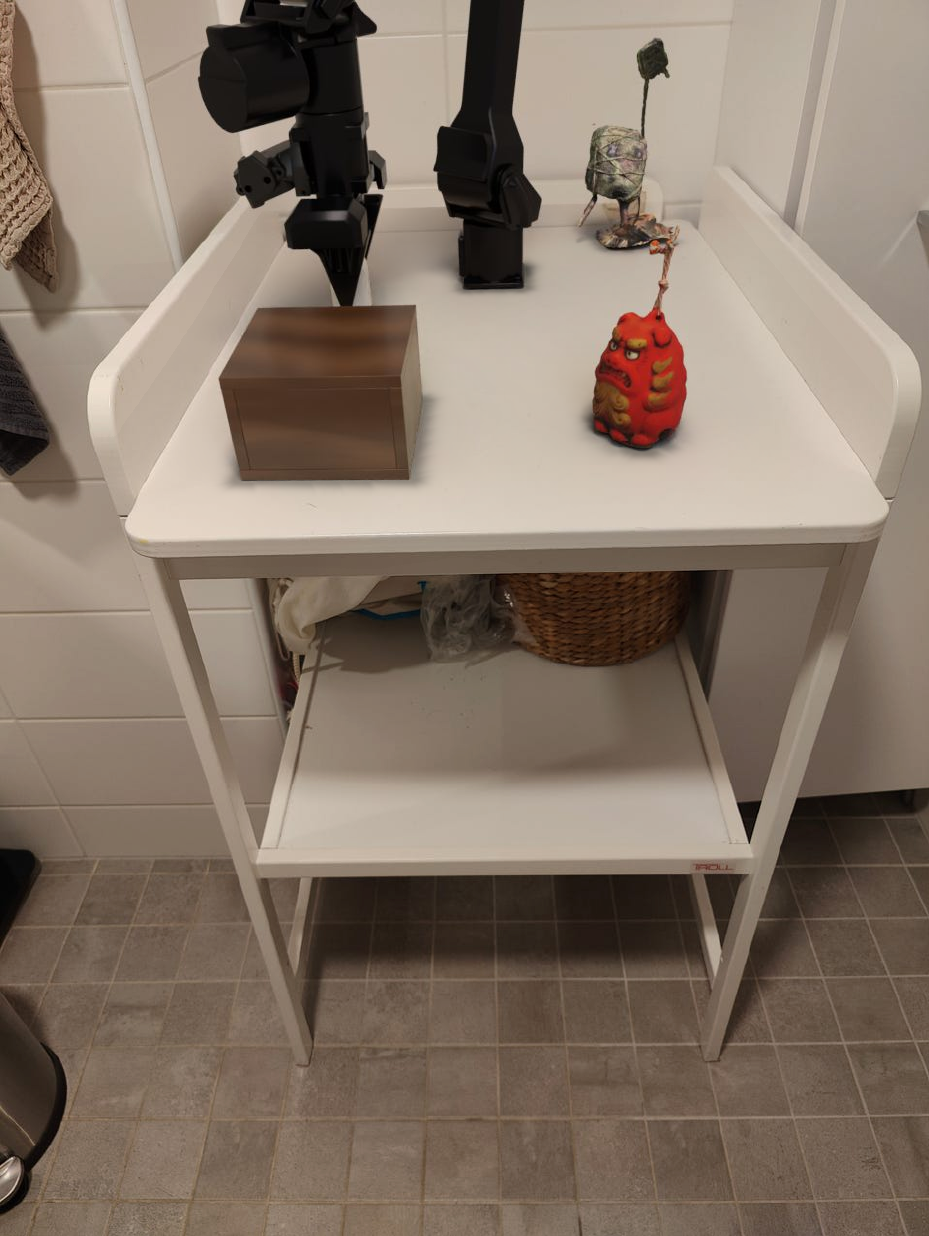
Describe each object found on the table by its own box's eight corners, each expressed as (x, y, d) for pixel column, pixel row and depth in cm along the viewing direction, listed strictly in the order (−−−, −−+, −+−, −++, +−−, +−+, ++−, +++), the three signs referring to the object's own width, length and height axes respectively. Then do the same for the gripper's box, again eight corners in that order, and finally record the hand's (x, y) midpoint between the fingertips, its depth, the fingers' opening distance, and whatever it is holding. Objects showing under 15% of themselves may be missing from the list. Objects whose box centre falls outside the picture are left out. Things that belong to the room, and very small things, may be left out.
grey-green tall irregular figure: (574, 229, 111) (582, 36, 98) (668, 227, 110) (688, 33, 98) (578, 252, 105) (586, 49, 92) (677, 250, 104) (700, 45, 91)
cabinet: (275, 402, 79) (257, 307, 73) (422, 400, 78) (416, 304, 73) (240, 480, 69) (218, 378, 64) (409, 479, 68) (400, 375, 63)
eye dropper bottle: (327, 352, 86) (308, 220, 78) (341, 327, 90) (324, 199, 82) (373, 353, 86) (358, 220, 78) (384, 328, 90) (371, 199, 82)
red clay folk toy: (571, 425, 74) (580, 232, 64) (633, 398, 77) (651, 211, 67) (640, 462, 69) (660, 260, 59) (703, 432, 72) (732, 236, 62)
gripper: (257, 84, 82) (285, 259, 92) (202, 138, 68) (243, 338, 78) (379, 80, 82) (394, 257, 92) (349, 134, 68) (371, 336, 78)
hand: (351, 294), depth 85 cm, fingers closed on eye dropper bottle, 5 cm apart
